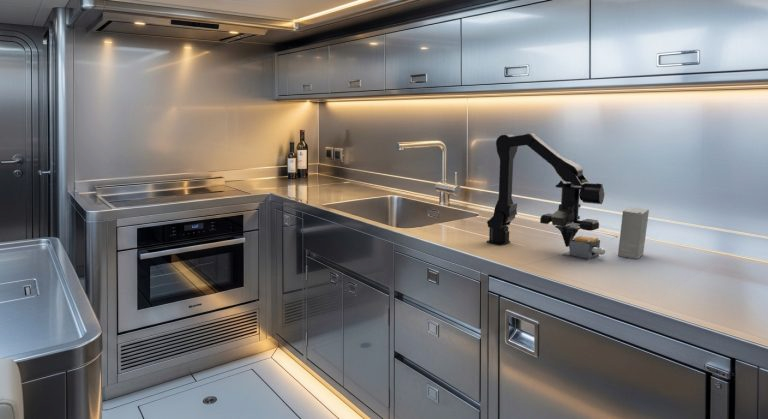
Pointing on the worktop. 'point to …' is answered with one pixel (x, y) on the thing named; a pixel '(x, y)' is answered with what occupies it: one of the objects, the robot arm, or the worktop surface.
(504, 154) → the robot arm
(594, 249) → the pin
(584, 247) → the bracket
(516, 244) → the worktop surface
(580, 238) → the plate
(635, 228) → the skincare box
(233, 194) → the worktop surface
